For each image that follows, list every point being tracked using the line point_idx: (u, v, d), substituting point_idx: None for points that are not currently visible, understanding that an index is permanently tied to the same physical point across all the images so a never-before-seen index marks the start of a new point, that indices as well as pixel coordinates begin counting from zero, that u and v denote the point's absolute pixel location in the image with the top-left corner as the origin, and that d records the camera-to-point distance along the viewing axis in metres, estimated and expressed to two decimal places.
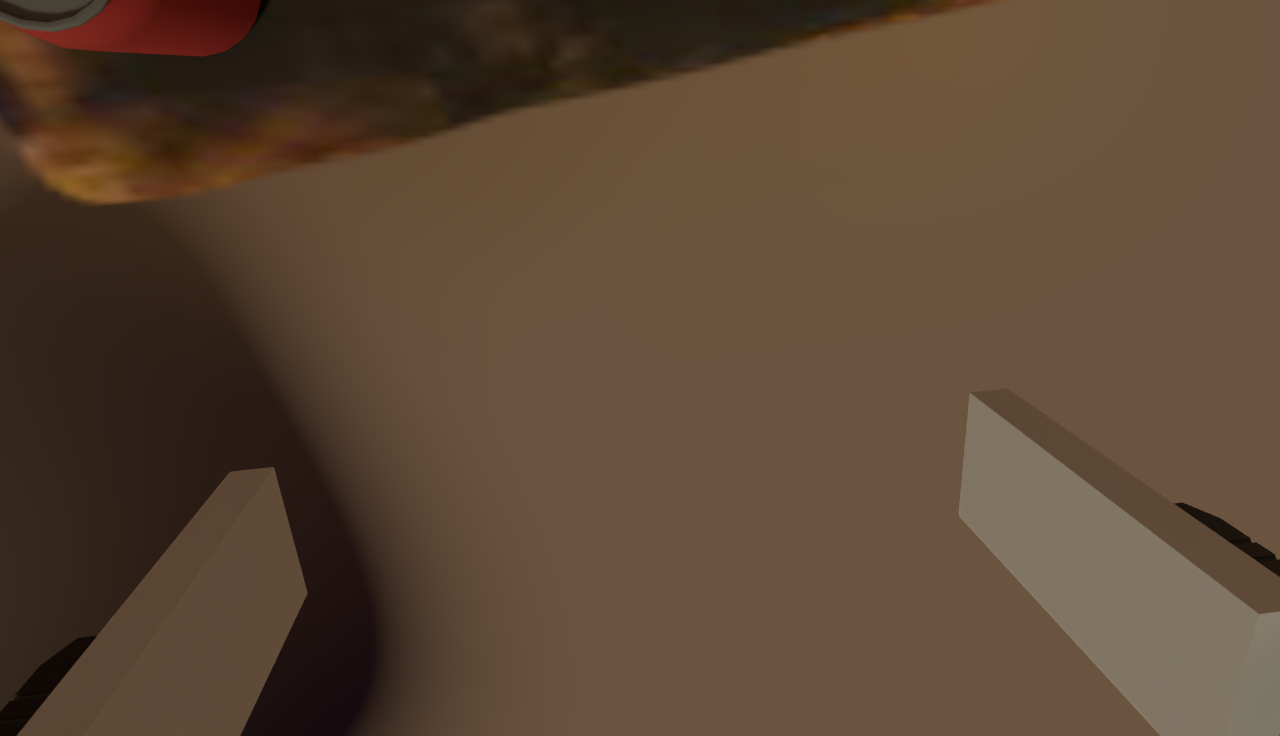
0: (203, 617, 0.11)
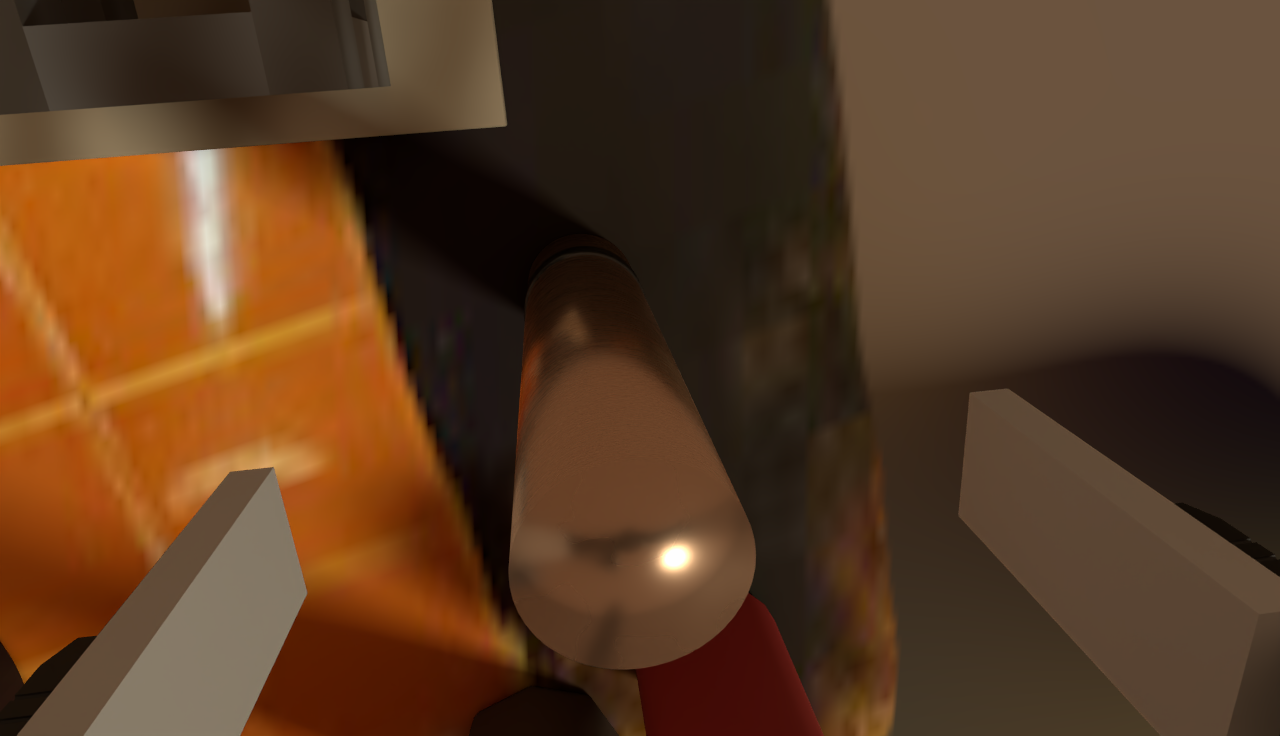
0: (203, 618, 0.11)
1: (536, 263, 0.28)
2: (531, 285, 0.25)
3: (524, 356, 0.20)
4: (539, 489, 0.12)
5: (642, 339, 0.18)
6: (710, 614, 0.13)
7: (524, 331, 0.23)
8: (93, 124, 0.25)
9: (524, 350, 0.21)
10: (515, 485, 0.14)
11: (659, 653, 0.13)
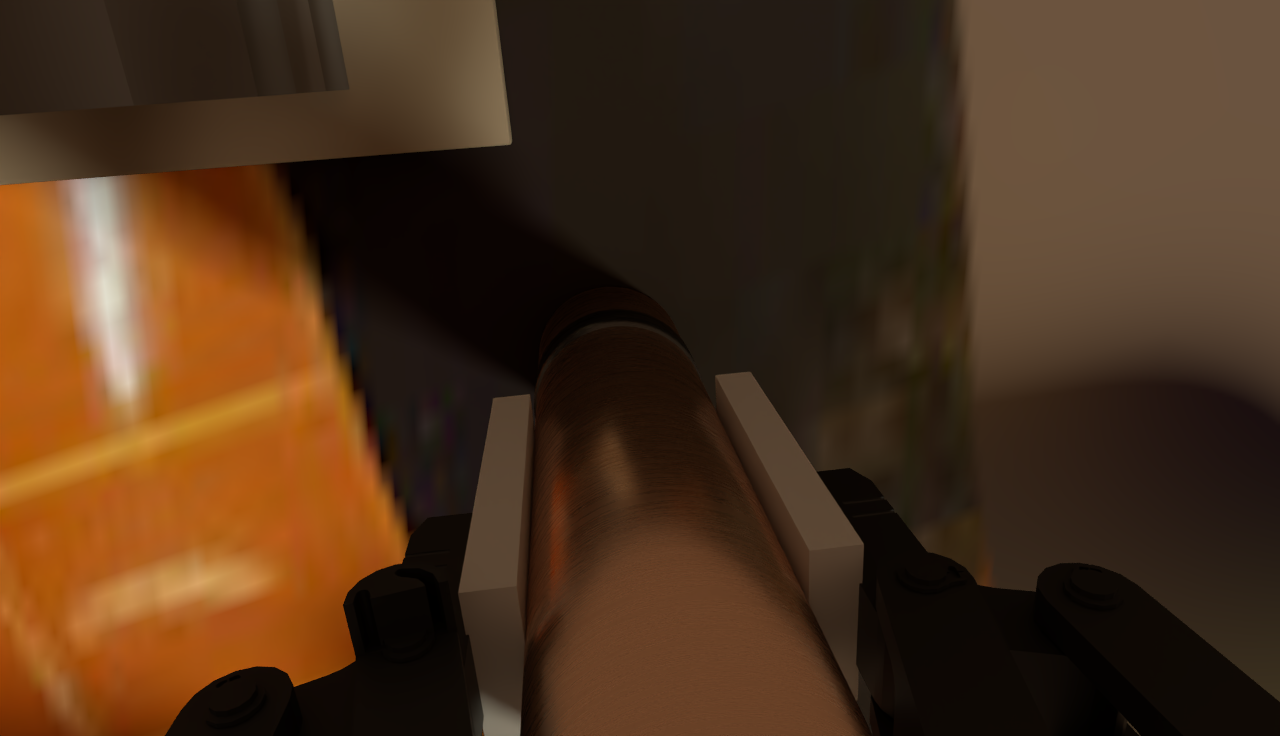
0: (528, 502, 0.13)
1: (551, 329, 0.20)
2: (544, 367, 0.18)
3: (534, 513, 0.13)
4: None
5: (733, 521, 0.11)
6: None
7: None
8: None
9: (534, 497, 0.13)
10: None
11: None
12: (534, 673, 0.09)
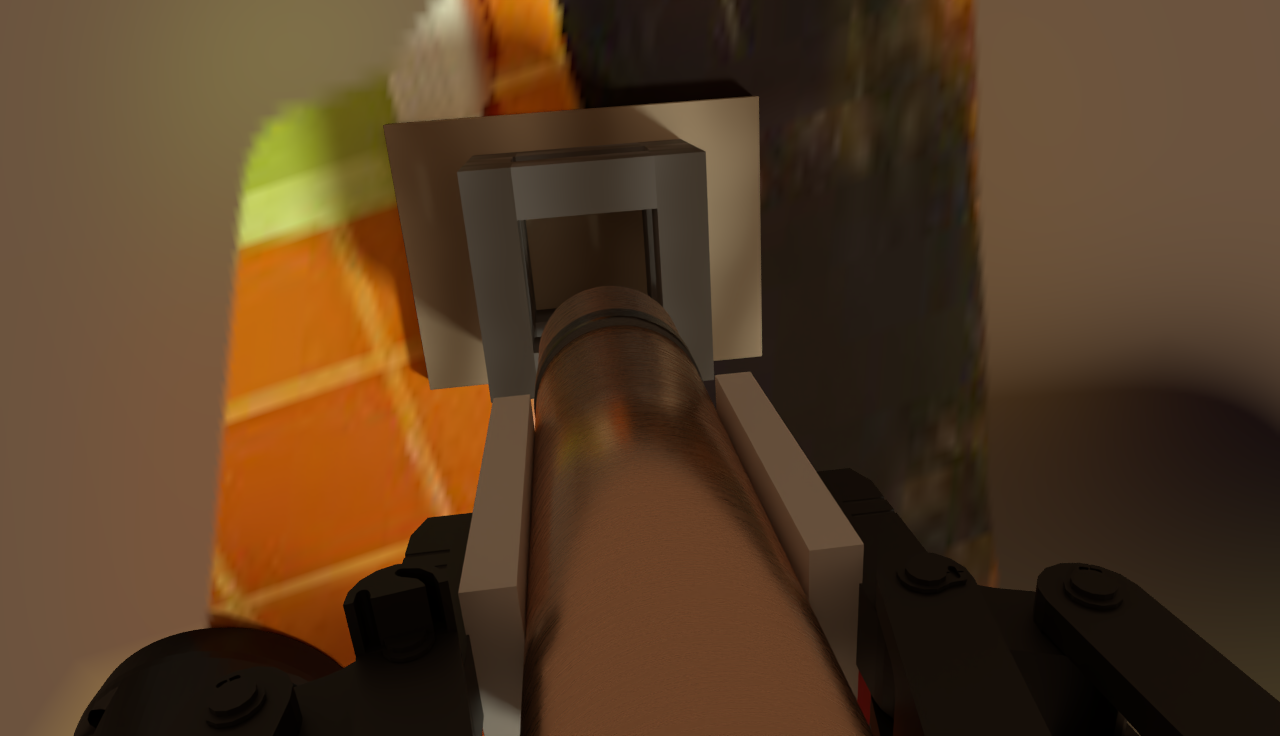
0: (528, 502, 0.13)
1: (551, 328, 0.20)
2: (544, 366, 0.18)
3: (534, 512, 0.13)
4: None
5: (733, 519, 0.11)
6: None
7: (534, 445, 0.16)
8: None
9: (534, 496, 0.13)
10: None
11: None
12: (534, 671, 0.09)
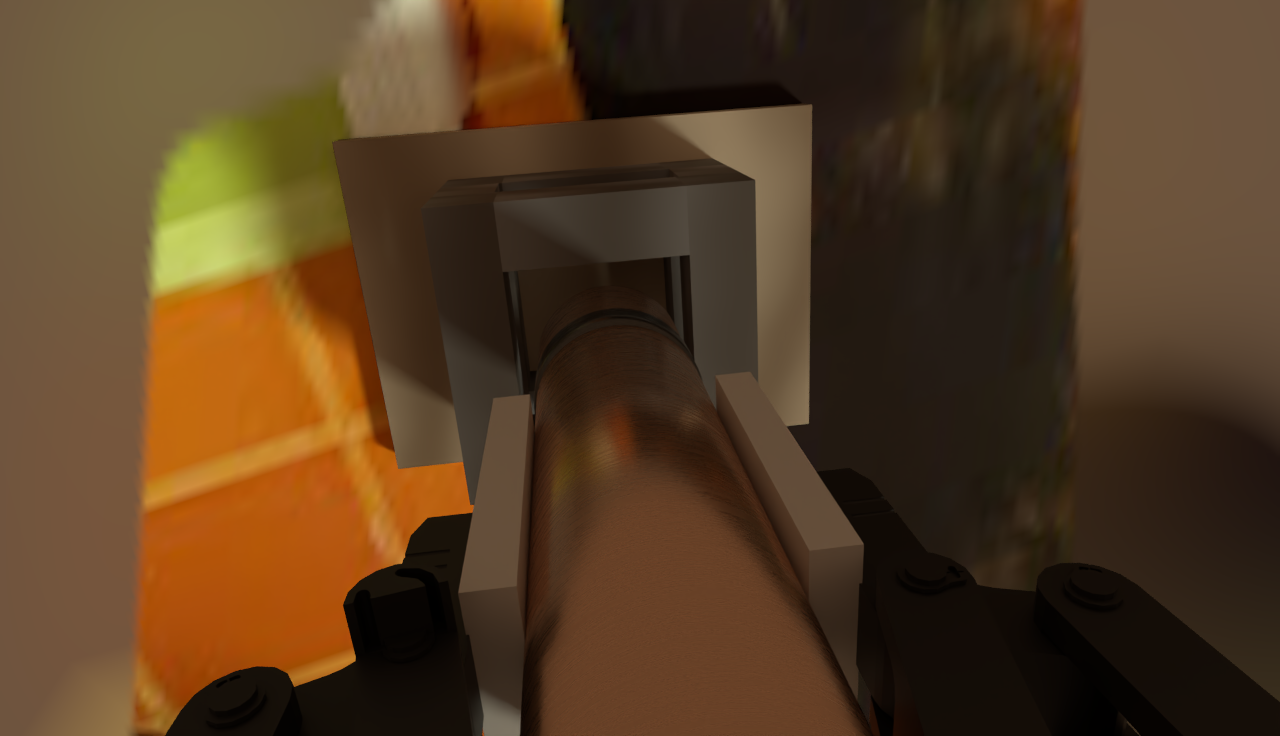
0: (528, 502, 0.13)
1: (551, 328, 0.20)
2: (544, 366, 0.18)
3: (534, 512, 0.13)
4: None
5: (733, 519, 0.11)
6: None
7: (534, 445, 0.16)
8: None
9: (534, 496, 0.13)
10: None
11: None
12: (534, 671, 0.09)
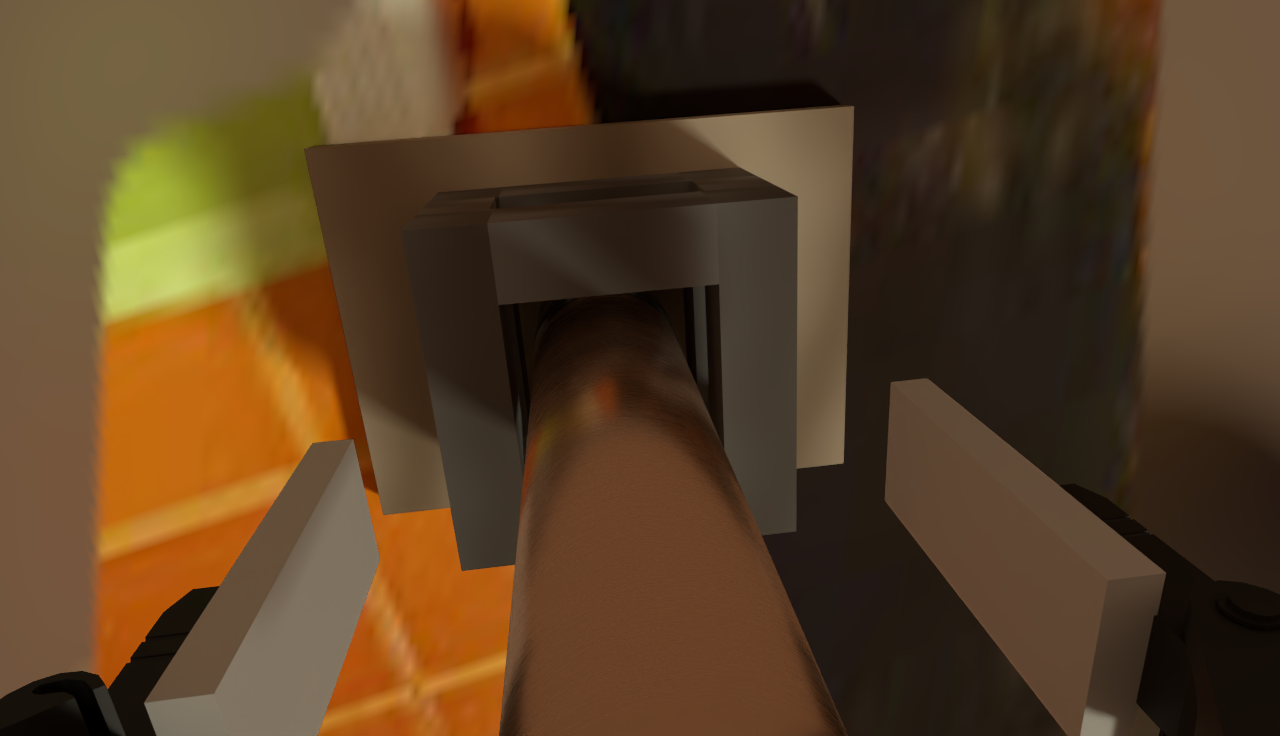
0: (307, 570, 0.12)
1: None
2: (541, 328, 0.21)
3: (528, 436, 0.16)
4: (537, 732, 0.08)
5: (684, 429, 0.13)
6: None
7: (531, 391, 0.19)
8: None
9: (529, 425, 0.16)
10: (506, 677, 0.10)
11: None
12: (524, 534, 0.12)
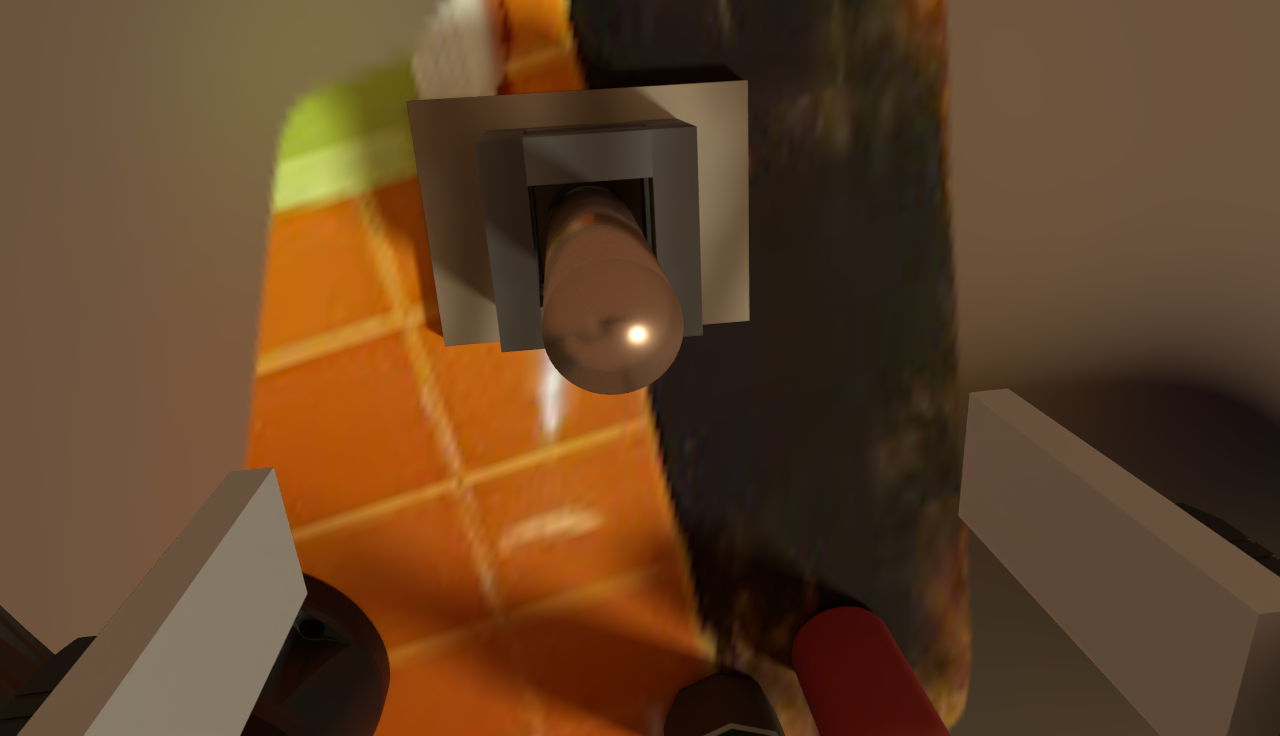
0: (203, 618, 0.11)
1: (555, 197, 0.37)
2: (551, 209, 0.35)
3: (547, 244, 0.30)
4: (559, 278, 0.22)
5: (626, 225, 0.27)
6: (657, 361, 0.22)
7: None
8: None
9: (547, 242, 0.30)
10: (544, 293, 0.23)
11: (627, 385, 0.23)
12: (549, 261, 0.26)
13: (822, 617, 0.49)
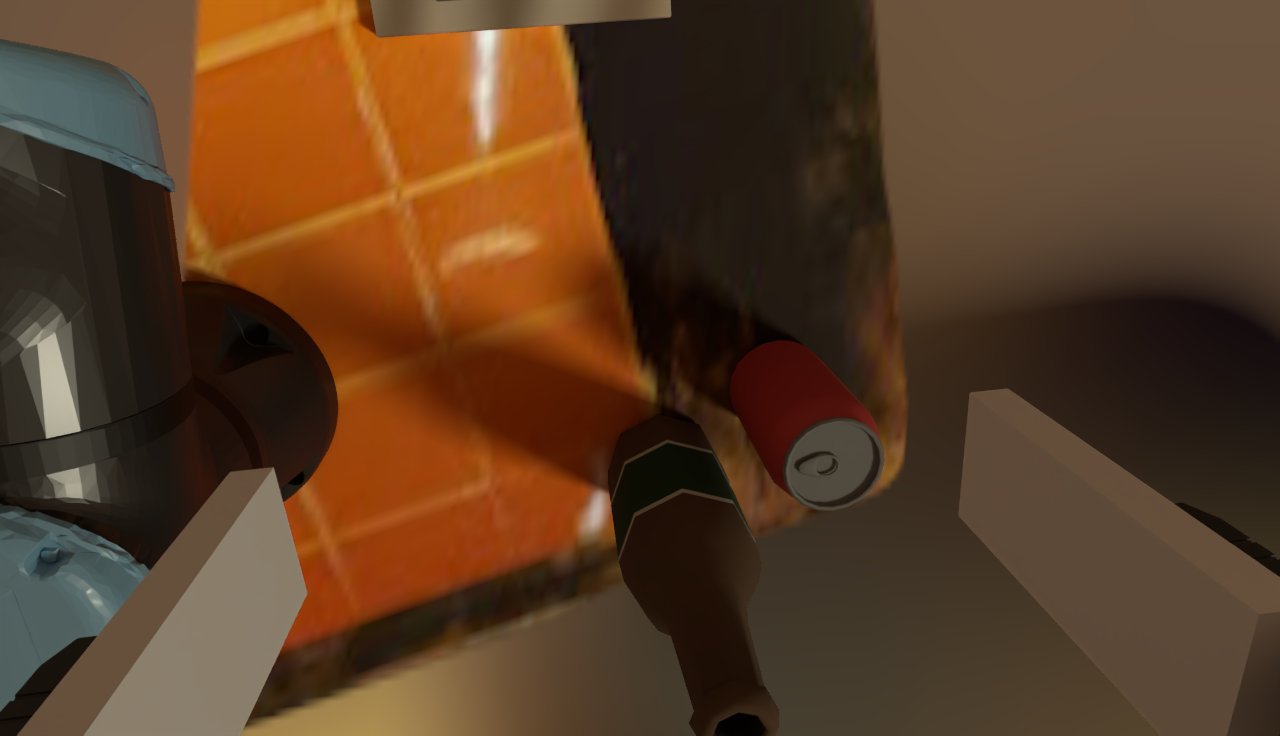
0: (203, 618, 0.11)
1: None
2: None
3: None
4: None
5: None
6: None
7: None
8: (434, 11, 0.42)
9: None
10: None
11: None
12: None
13: (757, 349, 0.51)
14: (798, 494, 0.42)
